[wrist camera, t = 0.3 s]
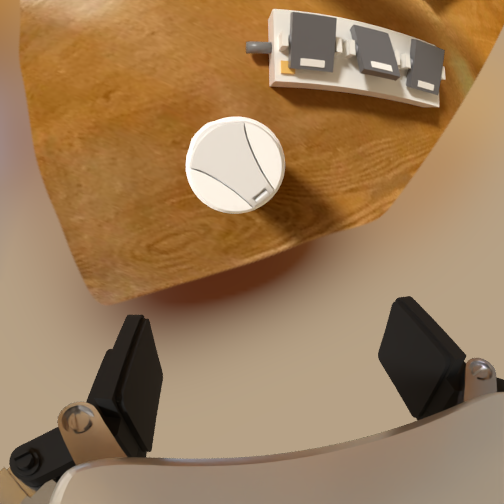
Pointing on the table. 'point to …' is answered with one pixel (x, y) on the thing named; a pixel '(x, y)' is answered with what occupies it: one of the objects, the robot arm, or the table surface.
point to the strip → (340, 64)
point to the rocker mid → (374, 53)
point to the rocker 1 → (311, 42)
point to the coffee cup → (235, 164)
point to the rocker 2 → (425, 67)
